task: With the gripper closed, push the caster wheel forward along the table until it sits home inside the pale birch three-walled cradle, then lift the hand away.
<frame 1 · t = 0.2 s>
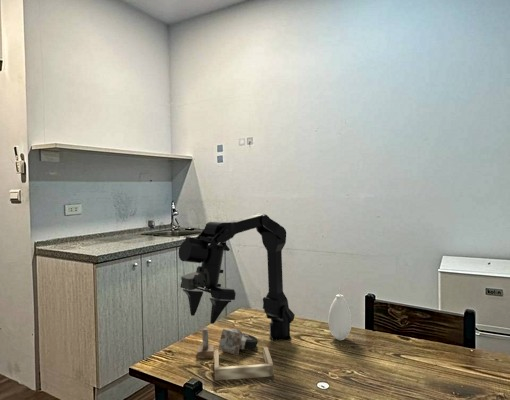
hand: (202, 319, 103), 15 cm above the table, tool pointing down, fingers open, 9 cm apart
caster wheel: (239, 349, 119), on the table
cradle: (242, 367, 106), on the table
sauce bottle: (340, 339, 125), on the table
stand rod: (205, 354, 115), on the table
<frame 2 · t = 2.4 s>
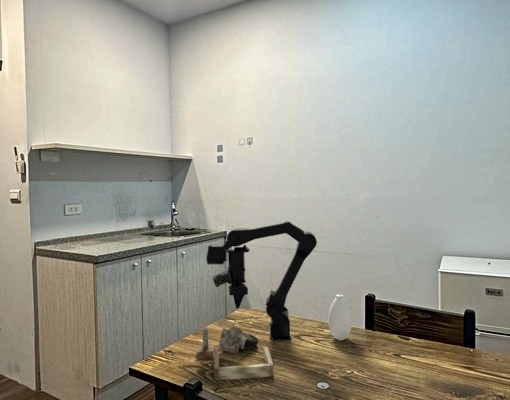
hand: (237, 308, 129), 10 cm above the table, tool pointing down, fingers closed
nothing on the table moved.
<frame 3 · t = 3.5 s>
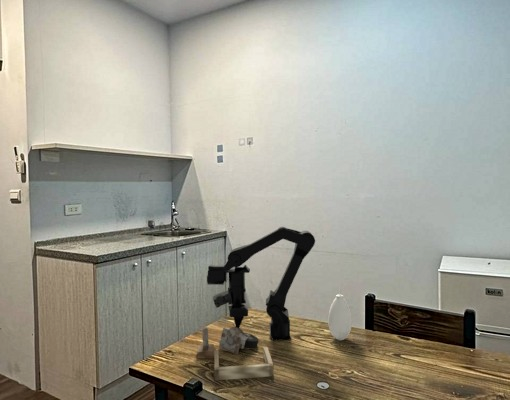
hand: (237, 328, 128), 3 cm above the table, tool pointing down, fingers closed
nothing on the table moved.
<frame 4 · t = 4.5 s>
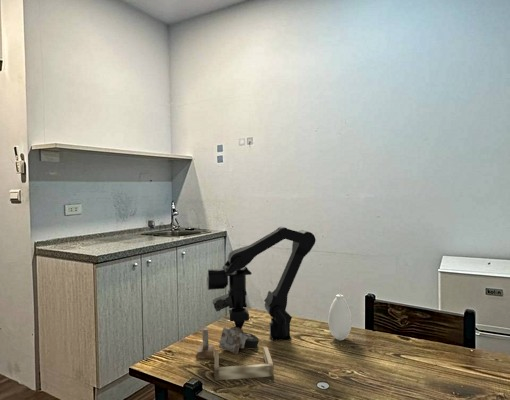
hand: (238, 332, 124), 3 cm above the table, tool pointing down, fingers closed
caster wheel: (240, 347, 120), on the table, touching gripper
everything else where it was.
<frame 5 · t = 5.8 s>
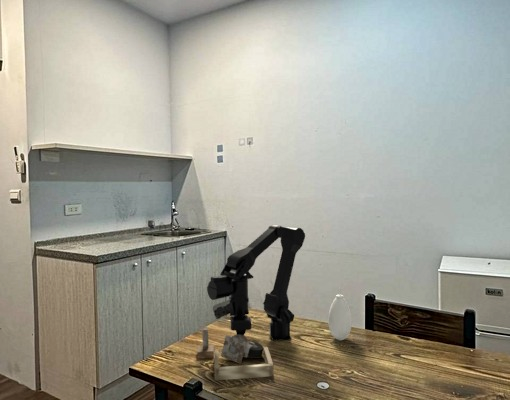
hand: (239, 341, 117), 3 cm above the table, tool pointing down, fingers closed
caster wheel: (244, 356, 113), on the table, touching gripper
everything else where it was.
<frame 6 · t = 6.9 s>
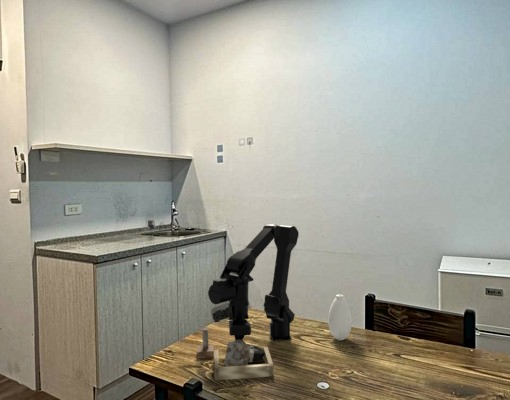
hand: (237, 346, 113), 3 cm above the table, tool pointing down, fingers closed
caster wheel: (245, 361, 110), on the table, touching cradle, gripper
everything else where it was.
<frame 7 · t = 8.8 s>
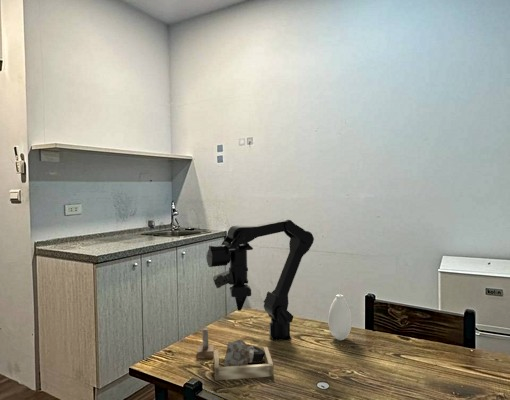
hand: (239, 310, 121), 12 cm above the table, tool pointing down, fingers closed
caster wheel: (245, 362, 110), on the table
everything else where it was.
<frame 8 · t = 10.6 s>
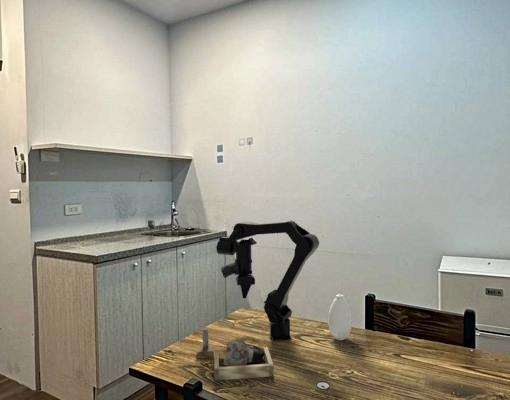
hand: (244, 298, 134), 12 cm above the table, tool pointing down, fingers closed
nothing on the table moved.
at the end: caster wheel inside the target area on the cradle (4.2 cm from its centre), point 0.0 cm above the cradle's base; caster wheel moved 9.0 cm from its start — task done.
